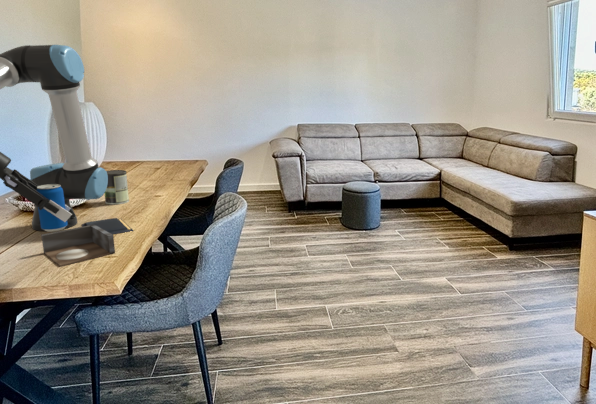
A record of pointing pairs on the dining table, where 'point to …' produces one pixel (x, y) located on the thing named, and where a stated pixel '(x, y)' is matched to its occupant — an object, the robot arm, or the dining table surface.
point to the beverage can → (46, 218)
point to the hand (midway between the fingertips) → (67, 214)
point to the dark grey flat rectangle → (111, 225)
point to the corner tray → (78, 244)
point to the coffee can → (116, 187)
